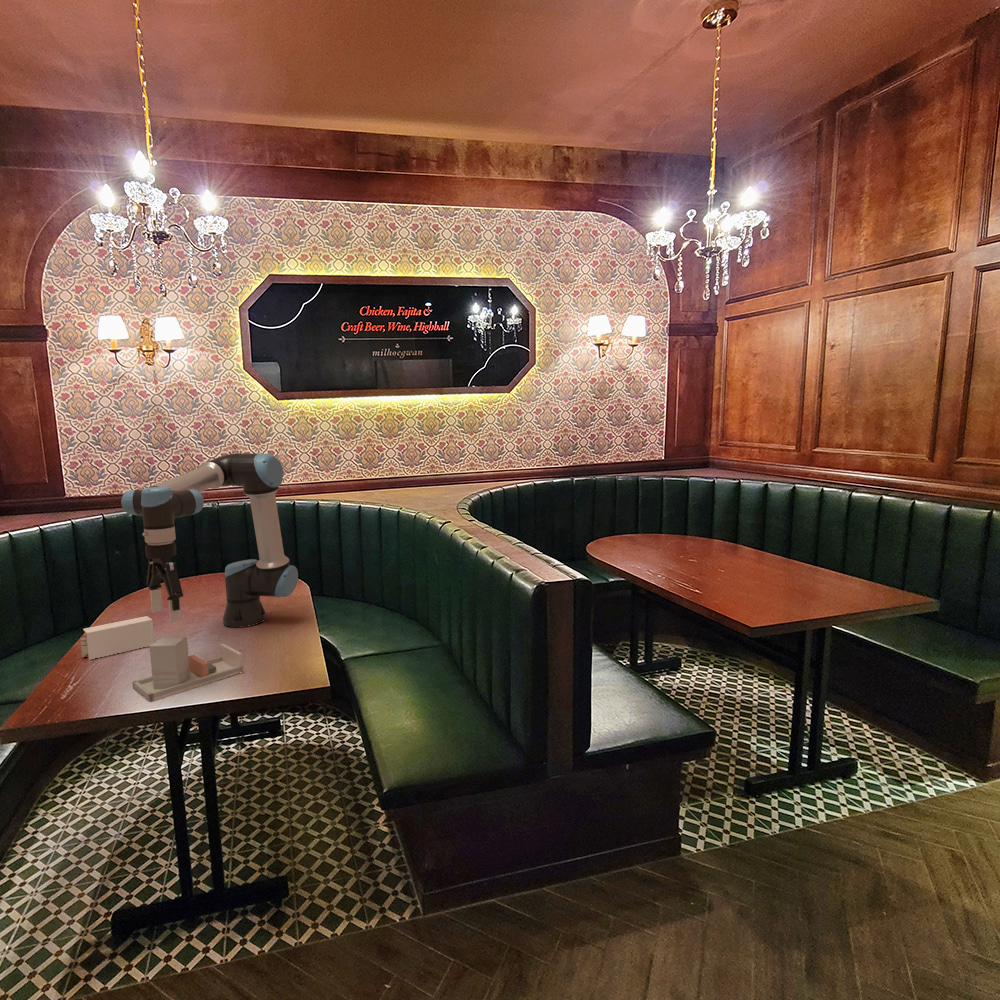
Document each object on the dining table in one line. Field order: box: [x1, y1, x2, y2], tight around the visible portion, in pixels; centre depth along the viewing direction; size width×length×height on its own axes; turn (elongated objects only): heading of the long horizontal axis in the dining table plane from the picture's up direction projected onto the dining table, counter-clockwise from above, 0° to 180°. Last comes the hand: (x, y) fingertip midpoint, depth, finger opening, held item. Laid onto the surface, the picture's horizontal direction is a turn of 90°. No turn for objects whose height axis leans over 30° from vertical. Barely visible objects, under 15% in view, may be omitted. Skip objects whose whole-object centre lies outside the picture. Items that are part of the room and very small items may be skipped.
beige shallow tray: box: [131, 643, 244, 703], centre depth 180 cm, size 26×13×6 cm, turn 138°
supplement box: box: [148, 636, 190, 688], centre depth 176 cm, size 7×7×13 cm
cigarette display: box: [79, 615, 155, 661], centre depth 203 cm, size 20×6×9 cm, turn 134°
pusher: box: [188, 654, 216, 678], centre depth 183 cm, size 5×10×4 cm, turn 48°
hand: (166, 616), depth 174 cm, fingers open, 13 cm apart
